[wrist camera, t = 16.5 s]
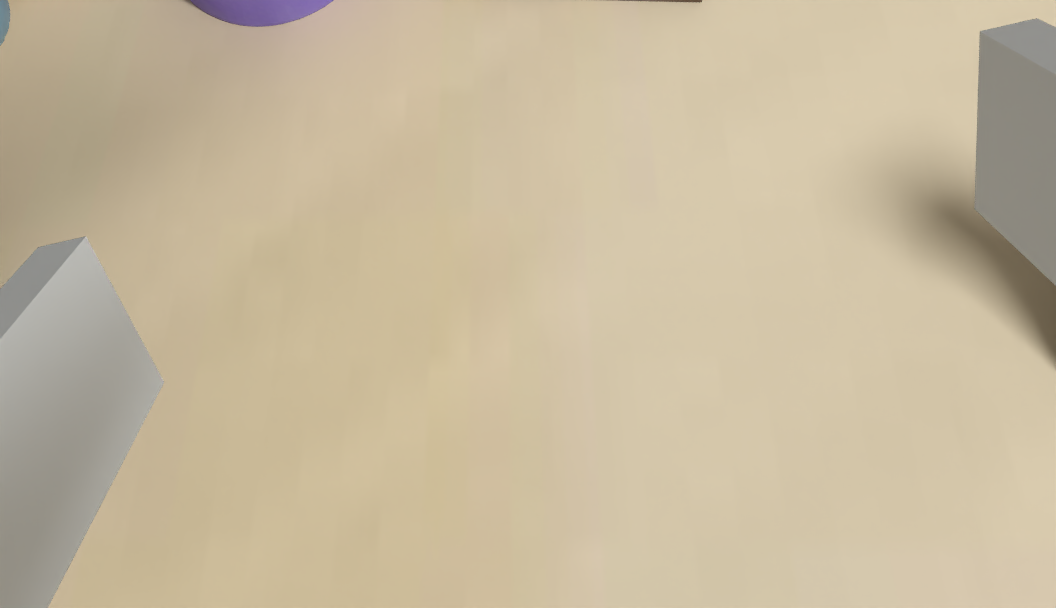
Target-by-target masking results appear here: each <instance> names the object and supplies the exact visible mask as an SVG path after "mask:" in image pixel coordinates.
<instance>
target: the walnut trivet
mask: <svg viewBox="0 0 1056 608" xmlns="http://www.w3.org/2000/svg"><path fill="white" fill-rule="evenodd" d="M620 1H669V2H702V0H620Z"/></svg>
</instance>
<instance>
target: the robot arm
mask: <svg viewBox="0 0 1056 608" xmlns="http://www.w3.org/2000/svg"><path fill="white" fill-rule="evenodd" d="M9 22H10V8H9V3H8V0H0V45H1V44H2V43H3V41H4V38H5V36H6V34H7V32H8V29H9ZM975 210H976V211H977V212H978V213H979V214H980V215H981V216H982V217H983V218H984V219H985V220H987V221H988V222H989V223H990V224H991V225H992V226H993V227H994V228H995V229H996V230H997V231H998V232H999V233H1000V234H1001V235H1002V236H1003V237H1005V238H1006V239H1007V240H1008V241H1009V242H1010V243H1011V244H1012V245H1013V246H1014V247H1015V248H1016V249H1017V250H1018V251H1019V252H1020V253H1022V254H1023V255H1024V256H1025V257H1026V258H1027V259H1028V260H1029V261H1030V262H1031V263H1032V264H1033V265H1034V266H1035V267H1036V268H1037V269H1038V270H1040V271H1041V272H1042V273H1043V274H1044V275H1045V276H1046V277H1047V278H1048V279H1049V280H1050V281H1051V282H1052V283H1053V284H1054V285H1055V286H1056V27H1054V26H1052V25H1049V24H1047V23H1045V22H1043V21H1041V20H1039V19H1037V18H1036V19H1032V20H1028V21H1023V22H1019V23H1015V24H1010V25H1006V26H1001V27H997V28H993V29H988V30H984V31H980V43H979V76H978V110H977V143H976V177H975ZM163 383H164V381H163V379H162V377H161V375H160V373H159V371H158V370H157V368H156V366H155V364H154V362H153V360H152V358H151V357H150V355H149V353H148V351H147V349H146V347H145V345H144V344H143V342H142V340H141V338H140V336H139V334H138V332H137V331H136V329H135V327H134V325H133V323H132V321H131V319H130V317H129V316H128V314H127V312H126V310H125V308H124V306H123V304H122V303H121V301H120V299H119V297H118V295H117V293H116V291H115V290H114V288H113V286H112V284H111V282H110V280H109V278H108V277H107V275H106V273H105V271H104V269H103V267H102V265H101V263H100V262H99V260H98V258H97V256H96V254H95V252H94V250H93V249H92V247H91V245H90V243H89V241H88V239H87V237H86V236H85V237H81V238H77V239H72V240H68V241H64V242H59V243H55V244H50V245H46V246H42V247H38V248H37V249H36V250H35V251H34V252H33V254H32V255H31V256H30V257H29V258H28V259H27V260H26V261H25V262H24V263H23V265H22V266H21V267H20V268H19V269H18V270H17V271H16V272H15V273H14V274H13V276H12V277H11V278H10V279H9V280H8V281H7V282H6V283H5V284H4V285H3V287H2V288H1V289H0V608H48V606H49V604H50V602H51V600H52V598H53V596H54V595H55V593H56V591H57V589H58V587H59V585H60V583H61V581H62V579H63V577H64V575H65V573H66V571H67V569H68V567H69V565H70V564H71V562H72V560H73V558H74V556H75V554H76V552H77V550H78V548H79V546H80V544H81V542H82V540H83V538H84V536H85V534H86V533H87V531H88V529H89V527H90V525H91V523H92V521H93V519H94V517H95V515H96V513H97V511H98V509H99V507H100V505H101V503H102V502H103V500H104V498H105V496H106V494H107V492H108V490H109V488H110V486H111V484H112V482H113V480H114V478H115V476H116V474H117V472H118V471H119V469H120V467H121V465H122V463H123V461H124V459H125V457H126V455H127V453H128V451H129V449H130V447H131V445H132V443H133V441H134V440H135V438H136V436H137V434H138V432H139V430H140V428H141V426H142V424H143V422H144V420H145V418H146V416H147V414H148V412H149V410H150V409H151V407H152V405H153V403H154V401H155V399H156V397H157V395H158V393H159V391H160V389H161V387H162V385H163Z"/></svg>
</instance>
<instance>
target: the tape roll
mask: <svg viewBox="0 0 1056 608" xmlns="http://www.w3.org/2000/svg"><path fill="white" fill-rule="evenodd" d="M190 1H191V2H192V3H193V4H194V5H196V6H197V7H198V8H200V9H201V10H202V11H204V12H206V13H207V14H209V15H211V16H213V17H216V18H218V19H220V20H223V21H226V22H229V23H233V24H237V25H243V26H257V27H258V26H271V25H278V24H283V23H287V22H291V21H294V20H297V19H300V18H303V17H305V16H307V15H310V14H312V13H314V12H316V11H318V10H319V9H321V8H323V7H325V6H326V5H327V4H329V3H330V2H332V1H333V0H190Z"/></svg>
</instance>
